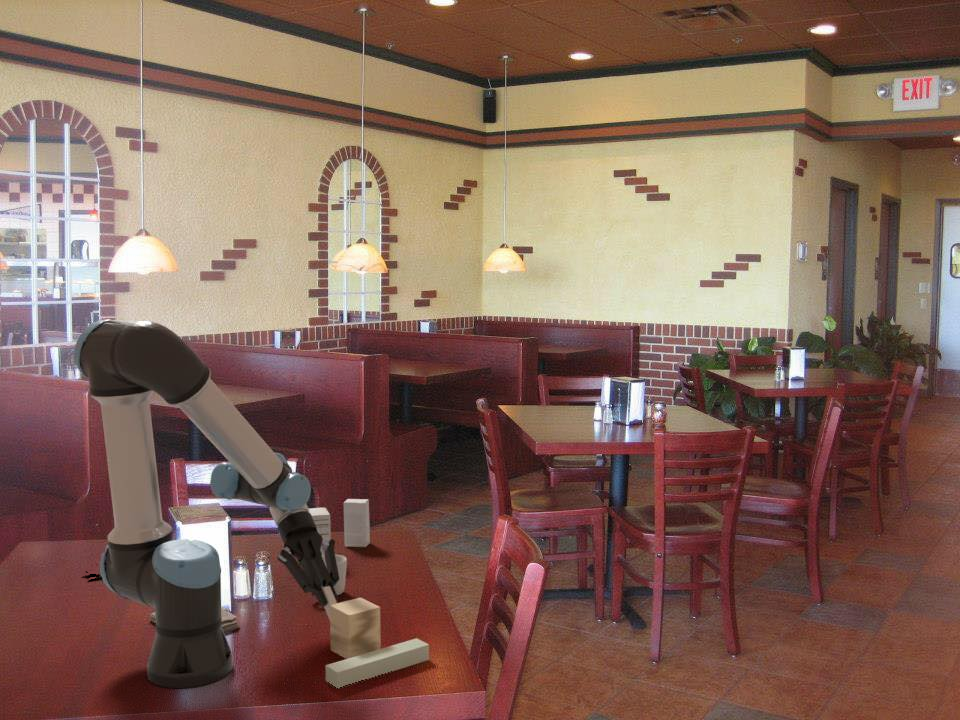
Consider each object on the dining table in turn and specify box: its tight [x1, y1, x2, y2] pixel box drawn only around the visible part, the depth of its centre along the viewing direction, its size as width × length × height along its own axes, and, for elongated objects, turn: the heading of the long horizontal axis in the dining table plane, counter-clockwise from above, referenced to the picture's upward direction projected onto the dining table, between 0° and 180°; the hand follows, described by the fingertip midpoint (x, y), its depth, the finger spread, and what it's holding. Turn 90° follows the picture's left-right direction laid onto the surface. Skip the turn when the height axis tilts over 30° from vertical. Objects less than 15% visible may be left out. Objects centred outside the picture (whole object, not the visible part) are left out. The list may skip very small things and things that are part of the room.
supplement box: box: [309, 507, 332, 555], centre depth 247 cm, size 7×7×13 cm
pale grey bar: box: [325, 637, 430, 689], centre depth 182 cm, size 20×4×3 cm, turn 129°
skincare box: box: [342, 498, 371, 548], centre depth 261 cm, size 6×4×12 cm
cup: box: [322, 554, 348, 596], centre depth 222 cm, size 11×8×8 cm
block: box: [329, 597, 382, 659], centre depth 191 cm, size 7×7×9 cm
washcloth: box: [148, 607, 241, 634], centre depth 205 cm, size 12×18×3 cm, turn 48°
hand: (336, 618), depth 197 cm, fingers closed
